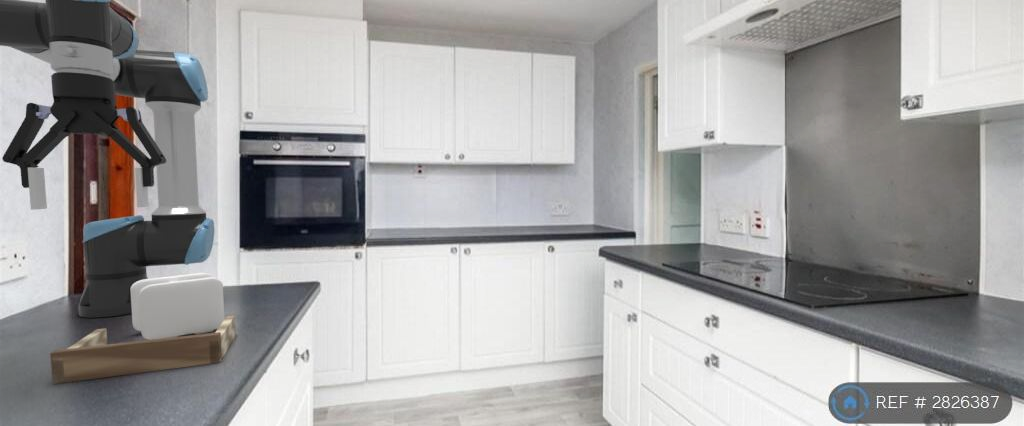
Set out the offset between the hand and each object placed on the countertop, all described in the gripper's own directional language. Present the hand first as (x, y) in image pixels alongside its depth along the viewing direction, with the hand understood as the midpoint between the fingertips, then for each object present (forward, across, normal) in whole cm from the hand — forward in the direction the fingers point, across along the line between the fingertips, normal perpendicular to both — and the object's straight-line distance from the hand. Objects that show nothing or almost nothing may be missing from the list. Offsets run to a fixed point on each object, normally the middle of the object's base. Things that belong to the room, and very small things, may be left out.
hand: (92, 208), depth 77 cm
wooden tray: (+28, +5, +7) cm, 29 cm away
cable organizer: (+28, +5, +22) cm, 36 cm away
